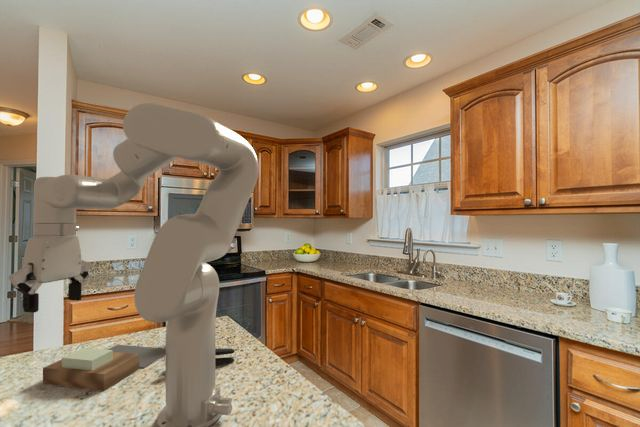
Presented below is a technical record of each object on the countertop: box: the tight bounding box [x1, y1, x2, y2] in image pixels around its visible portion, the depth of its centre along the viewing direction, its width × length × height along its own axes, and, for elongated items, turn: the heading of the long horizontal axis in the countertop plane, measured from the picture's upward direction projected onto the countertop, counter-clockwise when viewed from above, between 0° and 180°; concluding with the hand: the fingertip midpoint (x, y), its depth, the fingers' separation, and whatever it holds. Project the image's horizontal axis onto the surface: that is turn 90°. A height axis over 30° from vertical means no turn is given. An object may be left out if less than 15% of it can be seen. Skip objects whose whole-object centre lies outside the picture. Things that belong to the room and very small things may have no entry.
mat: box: [107, 344, 166, 369], centre depth 93 cm, size 20×12×1 cm, turn 79°
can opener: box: [215, 348, 236, 366], centre depth 86 cm, size 18×7×6 cm, turn 115°
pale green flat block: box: [61, 347, 113, 370], centre depth 80 cm, size 9×6×2 cm, turn 79°
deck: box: [42, 352, 140, 392], centre depth 81 cm, size 18×11×4 cm, turn 79°
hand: (54, 305), depth 72 cm, fingers open, 9 cm apart
